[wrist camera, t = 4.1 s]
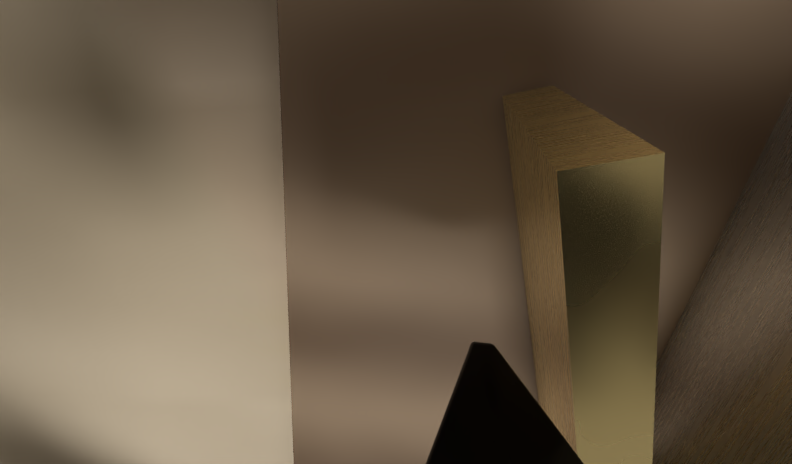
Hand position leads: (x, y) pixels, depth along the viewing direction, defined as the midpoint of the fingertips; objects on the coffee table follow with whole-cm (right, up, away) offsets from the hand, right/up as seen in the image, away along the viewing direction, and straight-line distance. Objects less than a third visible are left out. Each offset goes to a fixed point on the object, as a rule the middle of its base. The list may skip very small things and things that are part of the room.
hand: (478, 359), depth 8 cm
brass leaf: (+3, 0, +3) cm, 4 cm away
